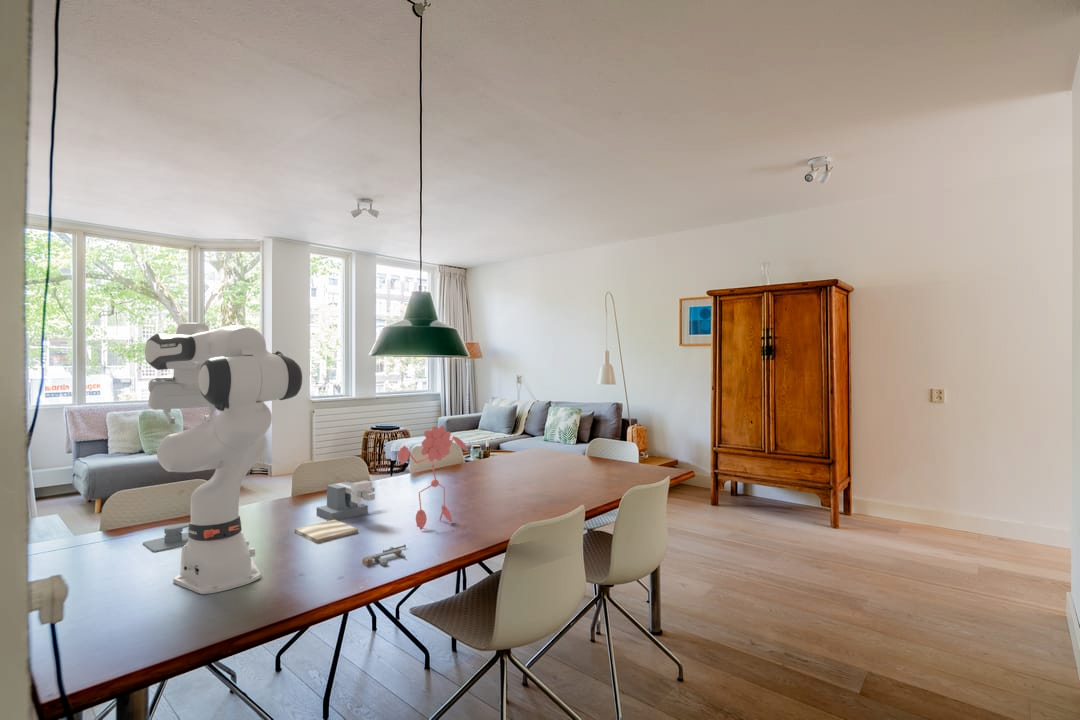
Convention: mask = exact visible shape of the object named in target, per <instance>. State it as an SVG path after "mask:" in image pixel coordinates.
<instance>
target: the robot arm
mask: <svg viewBox="0 0 1080 720" xmlns="http://www.w3.org/2000/svg"><path fill="white" fill-rule="evenodd" d="M144 347H145V348H144V357H145V360H146V362H147V363H148V364H149V365H150V366H151V367H152V368H153V369H155V370H157V371H161V370H165V371H166V370H173V374H172V375H173V376H167V377H161V376H157V377H154V378H153V379H150V380H149V382H148V391H149V397H148V408H150V409H151V410H154V411H158V410H162V412H163V414H164V415H165V417H166V418H167V419H166V420H167V421H166V422H167V424H168V425H173V424H174V425H175V423H176V418H175V417H174V416H171V415H170V413H171V412H172V410H173V409H175V410H176V409H177V410H178V409H191V408H192V409H193V408H208V410H209V411H208V413H207V414H204V415H203V420H204V422H203V423H200V424H198V425H195V426H193V427H190V428H187V429H184V430H181V431H177V432H174V433H170V434H167V435H166V436H164V437H163V438H162V439H161V441H160V443H159V444H158V447H157V449H156V450H157V451H156V458H157V461H158V463H159V465H160V466H161V467H162V468H163V469H164V470H165V471H166V472H169V473H170V472H172V473H194V472H203V471H209V470H215V471H214V473H213V475H212V476H211V477H210V479H209V480H207V481H205V482H204V483H202V484H201V485H199V486H197V487H196V488H195V489H194V490H193V491H192V494H191V496H190V523H189V522H188V523H189V527H187V533H188V536H189V537H190V538H189V540H188V542H187V543H186V544H185V546H182V547H181V555H180V556H181V557H180V573H179V574H178V575H176V576H174V577H173V581H172V582H173V584H176V585H178V586H180V587H183V588H185V589H188V590H190V591H192V592H195V593H198V594H201V595H207V594H209V595H210V594H216V593H219V592H224V591H228V590H232V589H235V588H239V587H242V586H245V585H249V584H250V583H252V582H255V581H258V580H259V579H261V578H262V575H261V572H260V570H259V568H258V567H257V565H256V563H255V561H254V560H253V558H254V557H255V556H256V548H254V547H251V548H249V546H250V540H246V538H245V537H244V536H245V534H244V533H243V532H242V530H243V529H242V521H241V516H240V515H239V503H240V494H241V493H240V492H241V488H242V484H243V482H244V479H245V477H246V476H247V473H248V472H249V471H250V470H251V469H252V467H253V466H254V465H256V464H257V462H258V461H259V462H260V460H262V458H263V457H264V455H265V453H266V452H267V448H268V440H267V437H266V434H267V432H268V430H269V428H270V427H271V424H272V421H273V420H272V419H273V416H272V411H271V410H270V408H269V407H268V405H267V404H265V403H264V402H270V401H277V400H279V401H284V400H289V399H291V398H292V399H293V398H294V397H296V396H297V395H298V393H299V392H300V390H301V388H302V385H303V372H302V369H301V368H302V367H300V365H299V364H298V363H297V362H296V361H295V360H294V359H292V358H290V357H289V356H286V355H284V354H283V353H282V352H281V351H280V350H277V351H275V352H272V353H271V352H269V351H268V349H267V344H266V339H265V337H264V336H263V334H262V333H261V332H260V331H258V330H257V329H255V328H253V327H250V326H246V325H239V324H238V325H237V324H235V325H227V326H223V327H219V328H215V329H211V330H210V328H209V325H207V324H205V323H203V322H183V323H182V322H181V323H180V324H178V326H177V328H176V333H175V334H169V333H164V332H163V333H159V332H157V333H155V334H154V335H152V336H150V338H149V339H148V340H147V341H146V343H145V346H144ZM216 410H218V411H219V412H220V413H219V414H218V415H217V416H216V417H215V418H213V419H212V416H213V415H214V413H215V412H216Z"/></svg>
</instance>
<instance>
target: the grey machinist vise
mask: <svg viewBox="0 0 1080 720" xmlns="http://www.w3.org/2000/svg"><path fill="white" fill-rule="evenodd" d="M351 483H352V482H349V481H343V482H339V483H332V484H327V485H326V505H321V506H316V517H319V518H322V519H324V520H326V521H331V520H337V521H341V520H347V519H350V518H354V517H359V516H362V515H367V514H368V513H369V508H368V507H369V505H367V504H365V503H362V502H361V503H354V502H351ZM375 490H376V489H375V487H373V486H372V493H371V492H368V491H367V492H362V493H361V499H362V500H364V499H366V500H365V501H367V500H371V501H374V500H376V497H375V496H376V494H375V493H374V492H375Z"/></svg>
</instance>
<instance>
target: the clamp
mask: <svg viewBox="0 0 1080 720" xmlns="http://www.w3.org/2000/svg"><path fill="white" fill-rule="evenodd" d="M406 547H407V545H406V543H405V544H403V545H401V546H400V545H399V546H397V547H393V546H390V547H389V548H388V549H386V550H385V549H383V550H382V552H379V553H376V554H371V555H368V556H365V557H363V558H362V560H361V562H362V563H361V564H362V565H363V566H364V567H369V566H373V564H374V563H379V564H380V565H381V566H382V567H383V566H388V562H389V561H388V560H390V559H394V558H398V557H402V558H404V559H405V558H406V555H405V554H404V553H403V552H402V548H406ZM392 554H395V555H392ZM388 555H391V556H388ZM384 556H386V557H384ZM387 556H388V557H387ZM381 557H383V558H381Z"/></svg>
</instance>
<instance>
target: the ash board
mask: <svg viewBox="0 0 1080 720" xmlns="http://www.w3.org/2000/svg"><path fill="white" fill-rule="evenodd" d="M294 533H295V534H297V535H299V536H302V537H303V538H305V539H307V540H310V541H311V542H312V543H313V542H314V543H315V544H319V543H323V542H327V541H331V540H335V539H338V538H342V537H346V536H350V535H354V534H358V533H359V528H357V527H354V526H351V525H350V524H347V523H344V522H342V521H341V520H338V521H337V520H331V521H329V520H326V521H323V522H318V523H315V524H310V525H306V526H300V527H298V528H294Z"/></svg>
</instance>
